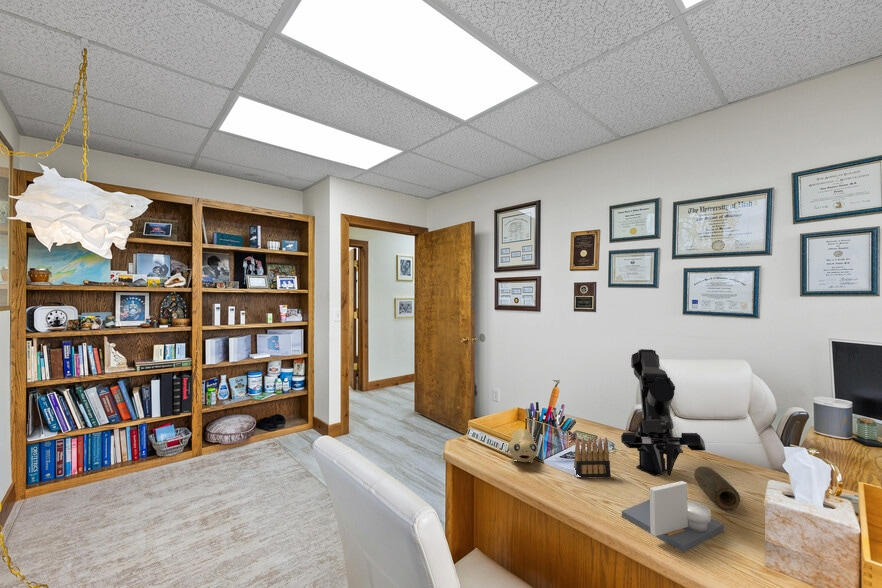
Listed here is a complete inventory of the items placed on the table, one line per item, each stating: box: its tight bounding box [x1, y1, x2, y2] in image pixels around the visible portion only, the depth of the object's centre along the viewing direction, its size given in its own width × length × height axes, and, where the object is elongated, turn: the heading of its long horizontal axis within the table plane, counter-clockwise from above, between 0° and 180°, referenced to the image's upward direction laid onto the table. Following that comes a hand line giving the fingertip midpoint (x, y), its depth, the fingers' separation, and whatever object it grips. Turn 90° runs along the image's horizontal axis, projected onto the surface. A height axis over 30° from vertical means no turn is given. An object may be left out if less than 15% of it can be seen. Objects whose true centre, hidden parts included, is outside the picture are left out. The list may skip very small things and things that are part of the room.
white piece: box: [649, 480, 712, 537], centre depth 86 cm, size 16×6×10 cm, turn 109°
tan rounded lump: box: [507, 428, 539, 463], centre depth 126 cm, size 10×12×11 cm
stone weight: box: [693, 466, 741, 511], centre depth 102 cm, size 15×7×7 cm, turn 169°
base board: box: [621, 499, 725, 553], centre depth 91 cm, size 15×16×4 cm
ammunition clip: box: [573, 436, 612, 478], centre depth 115 cm, size 11×2×12 cm, turn 90°
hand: (664, 475), depth 95 cm, fingers closed
